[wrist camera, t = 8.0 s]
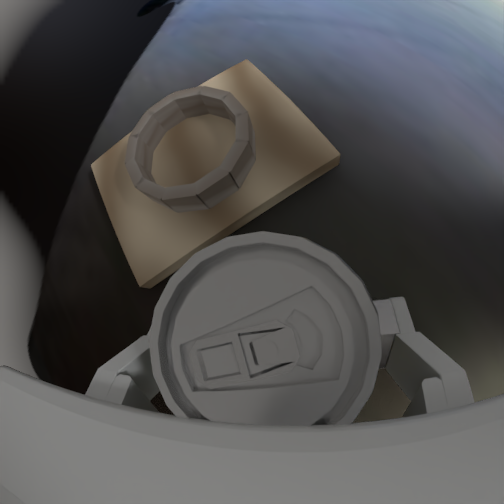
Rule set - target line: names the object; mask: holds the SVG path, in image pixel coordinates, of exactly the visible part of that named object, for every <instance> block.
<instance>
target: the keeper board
mask: <svg viewBox="0 0 504 504" xmlns="http://www.w3.org/2000/svg"><path fill="white" fill-rule="evenodd" d="M340 155H341V154H340V153H339V152H338V151H337V150H336V149H335V147H334V146H333V145H332V144H331V143H330V142H329V141H328V139H327V138H326V137H325V136H324V135H323V134H322V133H321V132H320V131H319V129H318V128H317V127H316V126H315V125H314V124H313V123H312V122H311V121H310V120H309V119H308V118H307V117H306V116H305V114H304V113H303V112H302V111H301V110H300V109H299V108H298V107H297V106H296V105H295V104H294V103H293V102H292V101H291V100H290V99H289V98H288V97H287V96H286V95H285V94H284V93H283V92H282V91H281V90H280V89H279V88H278V87H277V86H276V85H275V84H274V83H272V82H271V81H270V80H269V79H268V78H267V77H266V76H265V75H264V74H263V73H262V72H261V71H260V70H258V69H257V68H256V67H255V66H254V65H253V64H252V63H251V62H250V61H248V60H247V59H246V60H244V61H242V62H240V63H238V64H237V65H235V66H233V67H231V68H229V69H227V70H225V71H224V72H222V73H220V74H218V75H217V76H215V77H213V78H211V79H210V80H208V81H206V82H205V83H203V84H201V85H200V86H198V87H194V88H189V89H185V90H181V91H177V92H173V93H171V94H170V95H168V96H167V97H165V98H164V99H162V100H161V101H159V102H158V103H156V104H155V105H153V106H152V107H151V108H149V109H148V110H147V111H146V112H145V113H144V115H143V116H142V117H141V119H140V120H139V122H138V123H137V125H136V126H135V128H134V129H133V131H132V132H130V133H129V134H128V135H127V136H125V137H124V138H123V139H121V140H120V141H119V142H118V143H116V144H115V145H114V146H113V147H111V148H110V149H109V150H108V151H107V152H105V153H104V154H103V155H102V156H101V157H99V158H98V159H97V160H96V161H95V162H94V163H92V164H91V167H92V170H93V173H94V176H95V179H96V182H97V185H98V188H99V191H100V193H101V196H102V199H103V202H104V204H105V207H106V210H107V212H108V215H109V217H110V220H111V222H112V225H113V227H114V230H115V232H116V235H117V237H118V240H119V242H120V244H121V247H122V249H123V251H124V254H125V256H126V258H127V260H128V263H129V265H130V267H131V269H132V272H133V274H134V276H135V278H136V280H137V282H138V285H139V287H143V288H149V289H151V288H152V287H153V286H155V285H156V284H158V283H159V282H161V281H162V280H164V279H165V278H166V277H168V276H169V275H171V274H172V273H174V272H175V271H177V270H178V269H180V268H181V267H182V266H183V265H184V264H185V263H186V262H187V261H188V260H189V259H190V258H191V257H192V256H193V255H194V254H195V253H196V252H198V251H200V250H202V249H204V248H206V247H208V246H210V245H212V244H214V243H216V242H218V241H220V240H222V239H224V238H226V237H227V236H229V235H230V234H232V233H233V232H235V231H236V230H238V229H239V228H241V227H242V226H244V225H245V224H247V223H248V222H250V221H251V220H253V219H254V218H256V217H257V216H259V215H260V214H262V213H264V212H265V211H267V210H268V209H270V208H271V207H273V206H274V205H276V204H277V203H279V202H280V201H282V200H284V199H285V198H287V197H288V196H290V195H291V194H293V193H294V192H296V191H298V190H299V189H301V188H302V187H304V186H305V185H307V184H309V183H310V182H312V181H313V180H315V179H317V178H318V177H320V176H321V175H323V174H324V173H326V172H328V171H329V170H331V169H332V168H334V167H336V166H337V165H339V160H340Z"/></svg>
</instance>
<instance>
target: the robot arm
mask: <svg viewBox="0 0 504 504" xmlns="http://www.w3.org/2000/svg"><path fill="white" fill-rule="evenodd" d="M372 301H373V303H374V305H375V307H376V309H377V311H378V316H379V325H380V334H381V345H382V350H381V352H382V356H381V361H380V365H379V369H380V368H385V370H386V371H387V372H388V373H389V374H390V376H391V377H392V378H393V379H394V381H395V382H396V383H397V384H398V385H399V387H400V388H401V389H402V390H403V392H404V393H405V394H406V395H407V396H408V398H409V399H410V400H411V403H410V405H409V406H408V408H407V410H406V411H405V413H404V415H403V416H402V418H396V419H388V420H380V421H371V422H360V423H352V424H350V425H338V426H333V425H332V424H329V425H311V426H260V425H243V424H231V423H220V422H212V421H210V420H204V419H196V418H190V419H186V418H180V417H176V416H175V415H170V414H164V413H159V412H158V410H157V409H156V408H155V406H154V405H153V404H152V403H151V402H150V400H151V399H152V398H153V397H154V396H155V395H156V394H157V393H158V392H159V391H160V390H159V387H158V385H157V383H156V380H155V378H154V376H153V372H152V364H151V356H150V348H149V337H150V331H151V328H150V330H149V332H148V334H147V336H145V335H143V336H142V337H140V338H139V339H138V340H136V341H135V342H134V343H132V344H131V345H130V346H128V347H127V348H126V349H124V350H123V351H121V352H120V353H119V354H117V355H116V356H115V357H113V358H112V359H111V360H109V361H108V362H106V363H105V364H104V365H102V366H101V367H100V368H98V370H97V372H96V374H95V376H94V378H93V380H92V382H91V384H90V386H89V388H88V390H87V392H86V394H85V395H84V394H81V393H77V392H74V391H71V390H68V389H65V388H62V387H59V386H56V385H53V384H50V383H48V382H45V381H42V380H40V379H37V378H34V377H32V376H29V375H27V374H24V373H22V372H20V371H17V370H15V369H13V368H11V367H8V366H0V504H504V394H501V395H498V396H495V397H492V398H489V399H485V400H482V401H478V402H474V399H473V395H472V391H471V388H470V385H469V381H468V378H467V375H466V371H465V370H464V369H463V368H462V367H460V366H459V365H458V364H457V363H456V362H455V361H454V360H452V359H451V358H450V357H449V356H448V355H447V354H445V353H444V352H443V351H442V350H441V349H440V348H438V347H437V346H436V345H435V344H434V343H432V342H431V341H430V340H429V339H428V338H427V337H425V336H424V335H423V334H422V333H421V332H415V328H414V325H413V322H412V319H411V316H410V313H409V310H408V307H407V304H406V301H405V298H404V297H393V298H382V299H372Z"/></svg>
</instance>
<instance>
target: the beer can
mask: <svg viewBox="0 0 504 504" xmlns="http://www.w3.org/2000/svg"><path fill="white" fill-rule="evenodd" d="M149 348H150V356H151V364H152V372H153V376H154V378H155V380H156V383H157V385H158V387H159V390H160V392H161V394H162V396H163V398H164V401H165V403H166V405H167V406H168V407H169V409H170V410H171V411H172V412H173V413H174V415H175V416H176V417H180V418H186V419H190V418H196V419H204V420H210V421H212V422H220V423H231V424H243V425H260V426H311V425H329V424H332V425H333V426H338V425H350V424H352V422H353V421H354V420H355V418H356V417H357V415H358V414H359V412H360V411H361V409H362V408H363V406H364V405H365V403H366V402H367V400H368V398H369V397H370V395H371V394H372V392H373V389H374V385H375V381H376V377H377V373H378V369H379V365H380V361H381V356H382V352H381V350H382V345H381V334H380V325H379V316H378V311H377V309H376V307H375V305H374V303H373V301H372V298H371V296H370V294H369V292H368V290H367V288H366V286H365V284H364V282H363V280H362V279H361V278H360V277H359V276H358V275H357V274H356V273H355V272H354V271H353V269H352V268H351V267H350V266H349V265H348V264H347V263H346V262H345V261H344V260H343V259H342V258H341V257H340V256H339V255H338V254H336V253H334V252H332V251H330V250H328V249H326V248H325V247H323V246H321V245H319V244H317V243H315V242H313V241H311V240H309V239H307V238H304V237H298V236H292V235H285V234H279V233H272V232H266V231H260V232H254V233H248V234H242V235H236V236H230V237H226V238H224V239H222V240H220V241H218V242H216V243H214V244H212V245H210V246H208V247H206V248H204V249H202V250H200V251H198V252H196V253H195V254H194V255H193V256H192V257H191V258H190V259H189V260H188V261H187V262H186V263H185V264H184V265H183V266H182V267H181V268H180V269H179V270H178V271H177V272H176V273H175V274H174V275H173V276H172V277H171V278H170V279H169V281H168V283H167V285H166V287H165V289H164V291H163V293H162V295H161V297H160V299H159V300H158V302H157V304H156V306H155V309H154V314H153V320H152V325H151V331H150V337H149Z"/></svg>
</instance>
